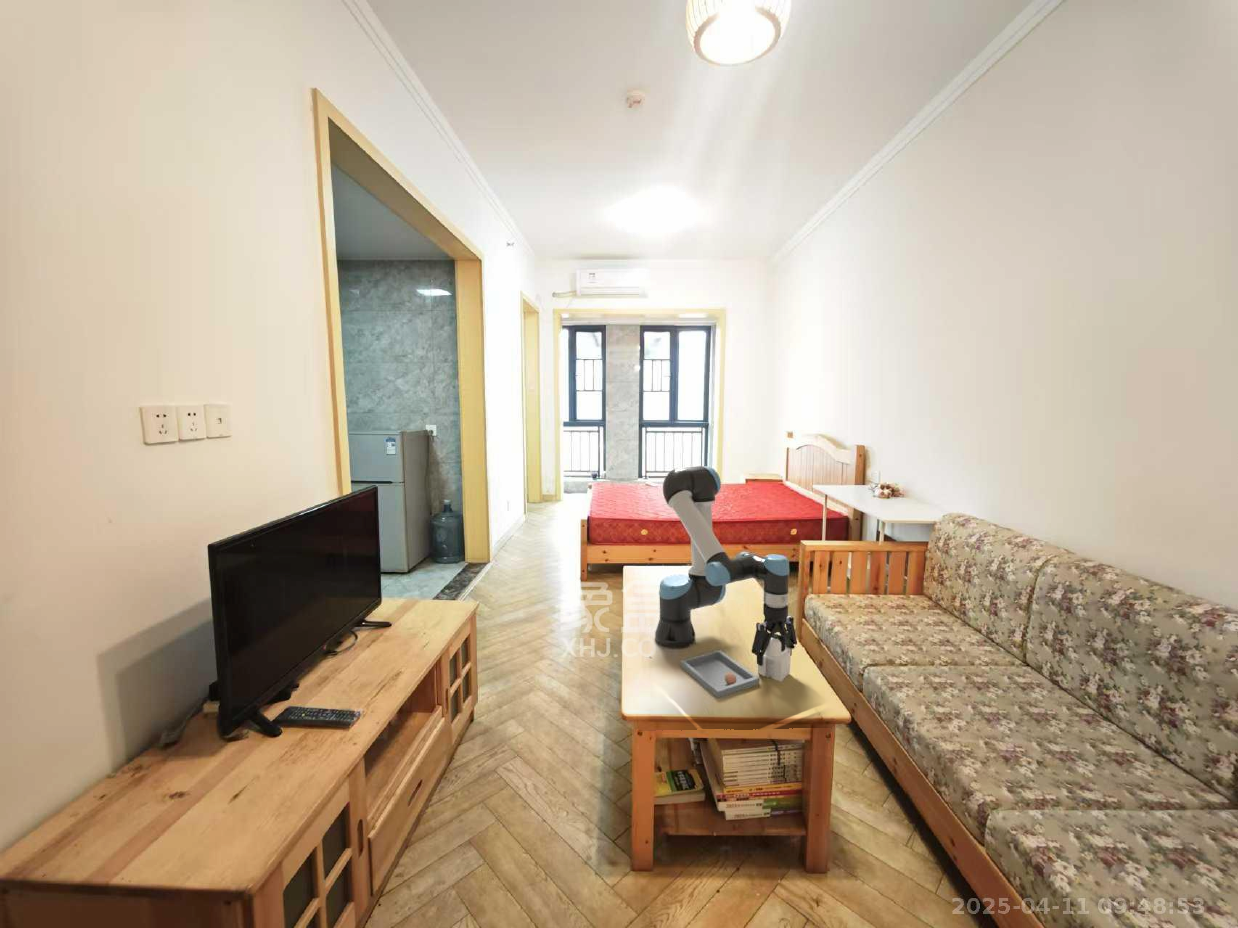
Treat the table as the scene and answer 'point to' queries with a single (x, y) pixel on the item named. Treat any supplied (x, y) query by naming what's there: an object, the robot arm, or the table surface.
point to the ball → (730, 678)
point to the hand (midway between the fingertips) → (774, 669)
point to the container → (777, 658)
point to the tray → (719, 673)
